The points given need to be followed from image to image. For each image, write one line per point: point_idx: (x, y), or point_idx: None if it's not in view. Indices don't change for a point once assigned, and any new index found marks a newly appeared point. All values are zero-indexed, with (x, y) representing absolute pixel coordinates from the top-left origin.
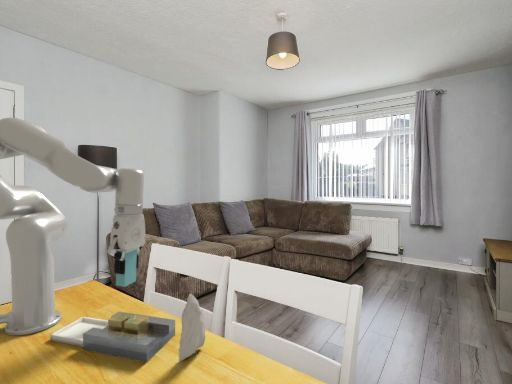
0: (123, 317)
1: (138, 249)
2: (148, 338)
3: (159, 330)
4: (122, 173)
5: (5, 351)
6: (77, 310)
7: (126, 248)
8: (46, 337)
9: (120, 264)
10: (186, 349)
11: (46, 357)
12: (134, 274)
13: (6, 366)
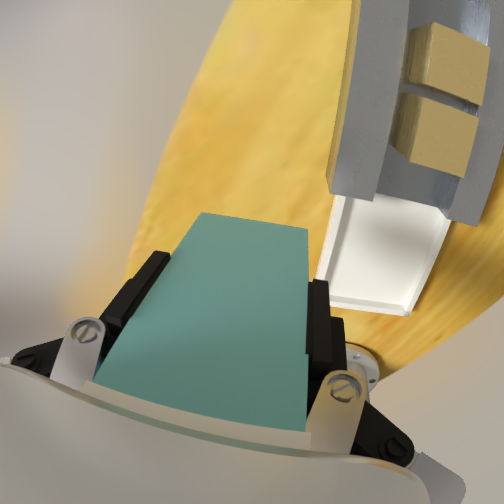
0: (448, 125)
1: (71, 365)
2: (497, 6)
3: None
4: None
5: (431, 348)
6: None
7: (384, 485)
8: (390, 321)
9: (340, 354)
10: None
11: (471, 267)
12: (204, 237)
13: (480, 312)
